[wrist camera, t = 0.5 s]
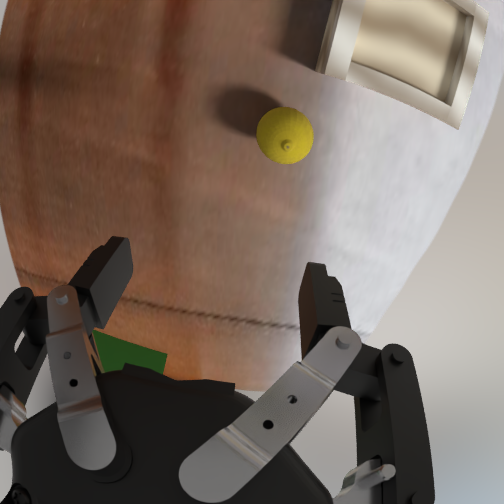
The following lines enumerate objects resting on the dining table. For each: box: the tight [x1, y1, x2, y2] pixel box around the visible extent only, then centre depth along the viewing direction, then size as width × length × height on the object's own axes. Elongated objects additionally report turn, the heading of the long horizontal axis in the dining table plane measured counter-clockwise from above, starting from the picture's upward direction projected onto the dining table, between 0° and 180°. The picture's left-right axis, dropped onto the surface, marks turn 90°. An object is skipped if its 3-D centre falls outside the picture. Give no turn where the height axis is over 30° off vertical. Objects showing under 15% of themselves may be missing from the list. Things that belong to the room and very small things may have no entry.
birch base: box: [315, 0, 489, 130], centre depth 20 cm, size 16×16×6 cm
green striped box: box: [92, 330, 167, 374], centre depth 51 cm, size 18×7×24 cm, turn 69°
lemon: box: [256, 107, 313, 164], centre depth 27 cm, size 6×6×8 cm
